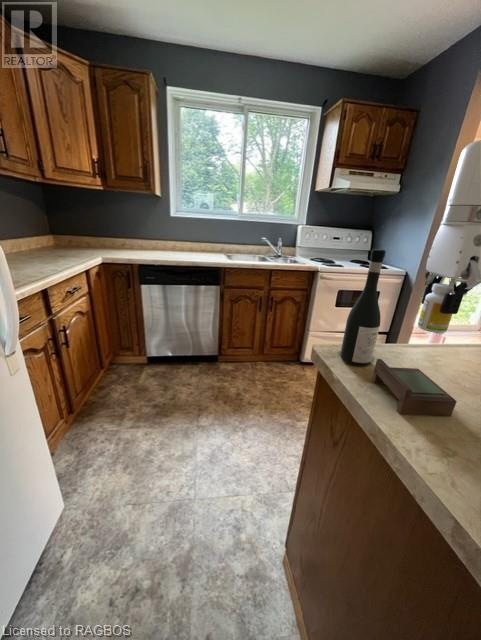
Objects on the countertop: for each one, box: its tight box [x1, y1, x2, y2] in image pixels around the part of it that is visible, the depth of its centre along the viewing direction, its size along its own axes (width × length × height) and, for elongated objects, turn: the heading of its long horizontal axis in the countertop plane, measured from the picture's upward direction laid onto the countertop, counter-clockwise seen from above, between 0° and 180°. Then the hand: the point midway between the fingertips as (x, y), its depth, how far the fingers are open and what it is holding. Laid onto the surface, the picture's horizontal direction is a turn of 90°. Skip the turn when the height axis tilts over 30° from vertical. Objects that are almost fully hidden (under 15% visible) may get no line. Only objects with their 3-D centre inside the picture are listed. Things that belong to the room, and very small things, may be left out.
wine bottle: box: [340, 248, 387, 367], centre depth 70 cm, size 8×8×30 cm
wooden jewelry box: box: [370, 358, 458, 418], centre depth 57 cm, size 10×12×7 cm
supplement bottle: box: [417, 283, 453, 334], centre depth 57 cm, size 5×5×10 cm
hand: (438, 307), depth 57 cm, fingers closed on supplement bottle, 5 cm apart
